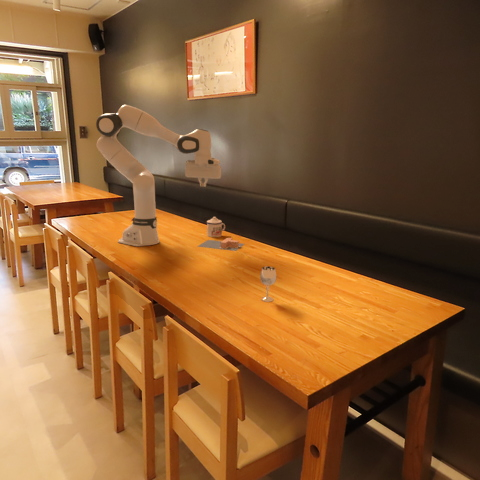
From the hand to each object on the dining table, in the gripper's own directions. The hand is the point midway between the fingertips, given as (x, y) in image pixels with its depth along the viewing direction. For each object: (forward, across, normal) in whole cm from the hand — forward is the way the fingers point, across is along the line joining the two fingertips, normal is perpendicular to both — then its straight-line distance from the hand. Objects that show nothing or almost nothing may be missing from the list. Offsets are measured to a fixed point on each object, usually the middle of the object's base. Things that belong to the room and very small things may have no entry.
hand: (203, 186), depth 214 cm
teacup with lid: (+31, +2, +15) cm, 35 cm away
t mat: (+31, +13, -5) cm, 34 cm away
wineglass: (+31, +55, -66) cm, 91 cm away
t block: (+30, +18, -5) cm, 36 cm away
